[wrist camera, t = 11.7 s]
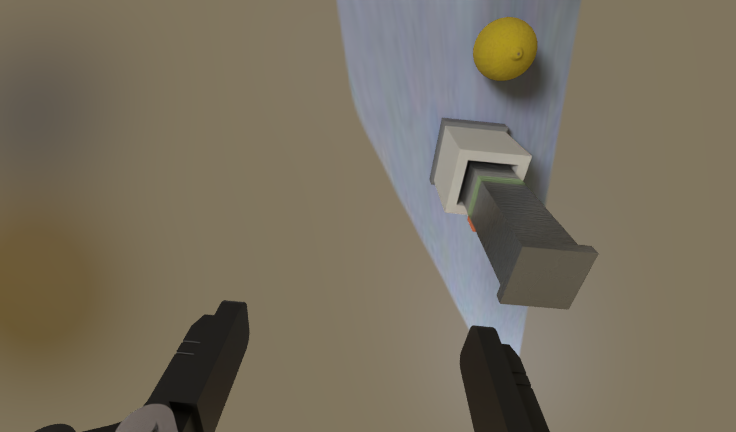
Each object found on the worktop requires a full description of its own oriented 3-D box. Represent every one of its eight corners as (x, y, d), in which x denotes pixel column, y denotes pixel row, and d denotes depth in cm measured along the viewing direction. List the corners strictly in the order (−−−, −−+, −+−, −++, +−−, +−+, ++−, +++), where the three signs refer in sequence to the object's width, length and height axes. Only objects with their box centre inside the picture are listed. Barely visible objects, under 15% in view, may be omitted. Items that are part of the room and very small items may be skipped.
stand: (442, 117, 41) (463, 151, 31) (504, 124, 41) (545, 159, 31) (429, 181, 45) (444, 228, 35) (485, 186, 45) (516, 235, 35)
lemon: (513, 73, 38) (543, 86, 31) (462, 74, 38) (481, 88, 32) (522, 15, 35) (558, 16, 29) (468, 17, 36) (490, 18, 29)
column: (462, 152, 36) (522, 246, 21) (508, 156, 36) (598, 253, 21) (452, 193, 38) (500, 303, 24) (495, 197, 38) (568, 309, 24)
